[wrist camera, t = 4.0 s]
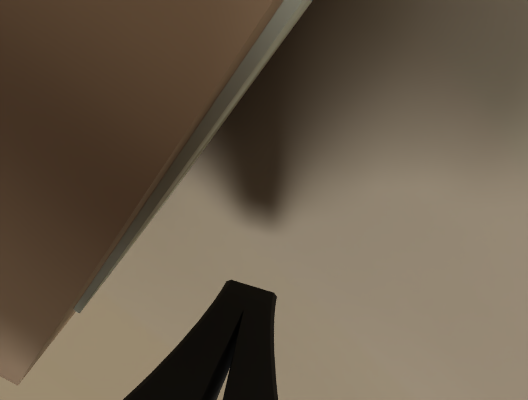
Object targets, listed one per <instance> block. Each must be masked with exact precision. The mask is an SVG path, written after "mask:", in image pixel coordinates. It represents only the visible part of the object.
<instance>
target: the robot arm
mask: <svg viewBox="0 0 528 400" xmlns="http://www.w3.org/2000/svg"><path fill="white" fill-rule="evenodd" d="M276 299H277V296H276V295H275V294H274V293H273V292H270V291H266V290H263V289H260V288H256V287H253V286H250V285H247V284H243V283H240V282H237V281H233V280H229V281H226V283H225V285H224V287H223V288H222V290H221V291H220V293H219V294H218V296H217V297H216V299H215V300H214V302H213V303H212V304H211V306H210V307H209V308H208V310H207V311H206V312H205V313H204V315H203V316H202V317H201V319H200V320H199V321H198V322H197V323H196V325H195V326H194V327H193V328H192V329H191V330H190V332H189V333H188V334H187V335H186V336H185V337H184V339H183V340H182V341H181V342H180V343H179V344H178V345H177V346H176V348H175V349H174V350H173V351H172V352H171V353H170V354H169V355H168V356H167V357H166V358H165V359H164V360H163V361H162V362H161V363H160V364H159V365H158V366H157V367H156V369H155V370H154V371H153V372H152V373H151V374H150V375H149V376H147V377H146V378H145V379H144V380H143V381H142V382H141V383H140V384H139V385H138V386H137V387H136V388H135V389H134V390H133V391H132V392H131V393H130V394H129V395H127V396H126V397H125V398H124V399H123V400H217V397H218V395H219V393H220V390H221V388H222V385H223V383H224V380H225V378H226V376H227V373H228V371H229V374H228V379H227V383H226V388H225V392H224V397H223V400H278V395H277V385H276V372H275V357H274V315H275V305H276ZM229 368H230V370H229Z"/></svg>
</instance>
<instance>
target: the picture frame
mask: <svg viewBox="0 0 528 400" xmlns="http://www.w3.org/2000/svg"><path fill="white" fill-rule="evenodd" d="M312 1H313V0H0V376H1V377H3V378H5V379H7V380H9V381H10V382H12V383H14V384H16V385H18V384H19V383H20V382H21V381H22V379H23V378H24V377H25V375H26V374H27V373H28V372H29V370H30V369H31V368H32V367H33V365H34V364H35V363H36V361H37V360H38V359H39V358H40V356H41V355H42V354H43V353H44V351H45V350H46V349H47V347H48V346H49V345H50V344H51V342H52V341H53V340H54V339H55V337H56V336H57V335H58V333H59V332H60V331H61V330H62V328H63V327H64V326H65V325H66V323H67V322H68V321H69V319H70V318H71V317H72V316H73V314H74V313H75V312H78V313H80V312H81V311H82V310H83V308H84V307H85V306H86V304H87V303H88V302H89V301H90V299H91V298H92V297H93V295H94V294H95V293H96V292H97V290H98V289H99V288H100V286H101V285H102V284H103V282H104V281H105V280H106V279H107V277H108V276H109V275H110V273H111V272H112V271H113V269H114V268H115V267H116V266H117V264H118V263H119V262H120V260H121V259H122V258H123V256H124V255H125V254H126V253H127V251H128V250H129V249H130V247H131V246H132V245H133V244H134V242H135V241H136V240H137V238H138V237H139V236H140V234H141V233H142V232H143V231H144V229H145V228H146V227H147V225H148V224H149V223H150V221H151V220H152V219H153V218H154V216H155V215H156V214H157V212H158V211H159V210H160V209H161V207H162V206H163V205H164V203H165V202H166V201H167V199H168V198H169V197H170V195H171V194H172V193H173V191H174V190H175V188H176V187H177V186H178V184H179V183H180V182H181V180H182V179H183V177H184V176H185V175H186V173H187V172H188V171H189V169H190V168H191V167H192V165H193V164H194V162H195V161H196V160H197V158H198V157H199V156H200V154H201V153H202V151H203V150H204V149H205V147H206V146H207V145H208V143H209V142H210V140H211V139H212V138H213V136H214V135H215V134H216V132H217V131H218V130H219V128H220V127H221V125H222V124H223V123H224V121H225V120H226V119H227V117H228V116H229V114H230V113H231V112H232V110H233V109H234V108H235V106H236V105H237V103H238V102H239V101H240V99H241V98H242V97H243V95H244V94H245V93H246V91H247V90H248V88H249V87H250V86H251V84H252V83H253V82H254V80H255V79H256V77H257V76H258V75H259V73H260V72H261V71H262V69H263V68H264V67H265V65H266V64H267V62H268V61H269V60H270V58H271V57H272V56H273V54H274V53H275V51H276V50H277V49H278V47H279V46H280V45H281V43H282V42H283V40H284V39H285V38H286V36H287V35H288V34H289V32H290V31H291V30H292V28H293V27H294V25H295V24H296V23H297V21H298V20H299V19H300V17H301V16H302V14H303V13H304V12H305V10H306V9H307V8H308V6H309V5H310V4H311V2H312Z"/></svg>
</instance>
